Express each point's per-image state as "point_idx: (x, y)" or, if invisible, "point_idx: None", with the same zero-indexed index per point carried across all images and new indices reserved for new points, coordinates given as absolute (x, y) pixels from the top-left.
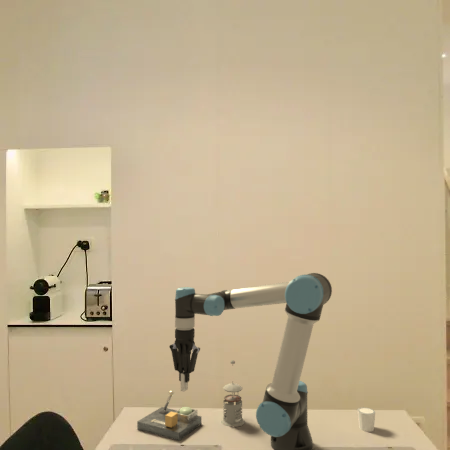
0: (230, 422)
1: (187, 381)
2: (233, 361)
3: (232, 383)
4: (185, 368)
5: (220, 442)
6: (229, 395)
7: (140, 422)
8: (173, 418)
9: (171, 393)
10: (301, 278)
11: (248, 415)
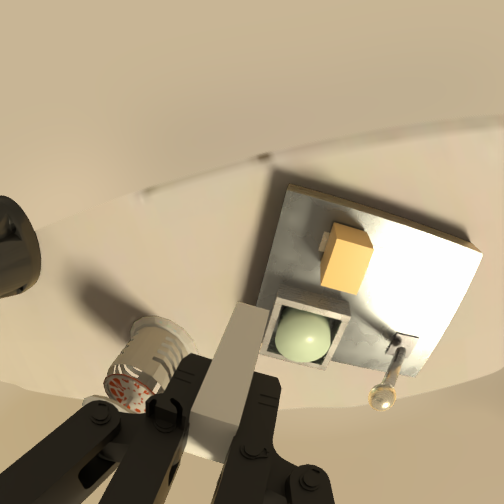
0: (154, 328)
1: (183, 359)
2: None
3: None
4: (143, 463)
5: (142, 210)
6: None
7: (471, 248)
8: (331, 248)
9: (379, 393)
10: None
11: None
